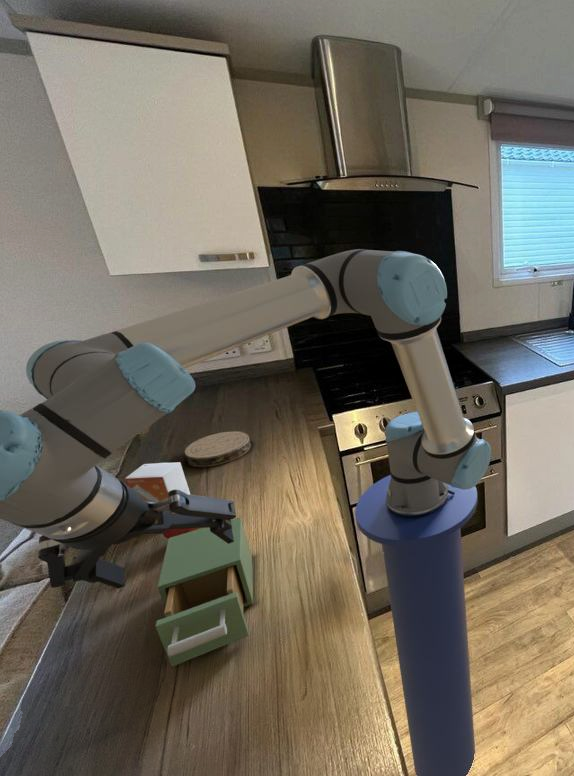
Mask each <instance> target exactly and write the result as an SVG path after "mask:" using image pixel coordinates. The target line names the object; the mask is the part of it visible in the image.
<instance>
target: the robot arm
mask: <svg viewBox="0 0 574 776" xmlns="http://www.w3.org/2000/svg"><path fill="white" fill-rule="evenodd" d="M445 280H446V279H445V277H444V275H443V273H442V271H441V270H440V268H439V267H438V266H437V264H436V263H434V262H433V261H432V260H431V259H429V258H427V257H426V256H424V255H421V254H417V253H413V252H409V251H404V250H396V251H390V250H389V251H388V250H374V249H368V248H367V249H366V248H365V249H364V248H361V249H360V248H357V249H351V250H346V251H341V252H338V253H335V254H332V255H328V256H325V257H321V258H320V259H319V258H318V259H316V260H314V261H311V262H308V263H305V264H301V265H298V266H295V267H294V268H293V269H292V271H291V274H290V275H288V276H287V275H286V276H284V277H281V278H277V279H275V280H272V281H269V282H265V283H262V284H259V285H255V286H252V287H249V288H247V289H244V290H240V291H237V292H234V293H230V294H228V295H223V296H221V297H217V298H214V299H212V300H209V301H205V302H202V303H199V304H196V305H193V306H190V307H186V308H183V309H180V310H178V311H177V310H176V311H174V312H171V313H168V314H164V315H161V316H158V317H155V318H152V319H148V320H146V321H142V322H139V323H136V324H133V325H130V326H127V327H123V328H120V329H117V330H114V331H111V332H107V333H104V334H100V335H97V336H94V337H91V338H88V339H84V340H81V339H78V340H77V339H68V340H67V339H62V340H55V341H52V342H49V343H47V344H44V345H42V346H41V347H39V348H37V349H36V350H35V351H34V352H32V354H31V355H30V356H29V358H28V360H27V362H26V366H25V374H26V377H27V380H28V381H29V383H30V384H31V385H32V387H33V389H34V390H35V391H36V392H37V393H38V394H39V395H41V396H43V397H44V398H45V399H46V400H44V401H43V402H40V403H38V404H36V405H35V406H33V407H32V408H29V409H28V410H26V411H24V412H23V413H21V414H17V413H15V412H13V411H9V410H4V409H0V520H3V521H4V522H7V523H9V524H12V525H15V526H17V527H20V528H22V529H26V530H28V531H30V532H33V533H35V534H38V535H40V536H39V538H38V553H37V559H39V560H40V561H42V562H44V563H46V564H47V571H48V576H49V585H50V587H51V588H54V589H55V588H59V587H62V586H64V585H66V582H67V581H70V580H72V581H73V582H80V581H84V582H87V583H91V584H96V583H100V584H103V585H106V586H109V587H113V588H115V589H122V588H124V587H126V572H125V571H126V570H125V567H123V566H120V565H118V564H117V563H113V562H111V561H108V560H105V559H102V558H101V557H103V556H105V554H107V551H108V550H109V548H111V547H112V546H113V545H120V544H123V543H126V542H127V541H130V540H132V539H134V538H135V539H136V538H138V537H142V536H144V535H157V534H161V535H162V534H163V533H164V532H165V531H166V530H170V529H189V528H208V527H210V532H212V533H213V534H215V535H216V536H218V537H219V538H221V539H222V540H224V541H225V542H226V543H228V544H230V543H232V542H234V538H233V533H232V524H231V520H233V519H236V518H237V513H236V508H235V502H234V500H230V499H224V498H223V499H222V498H216V497H210V496H202V495H196V494H191V493H190V494H191V495H190V494H186V493H184V492H182V491H180V490H171V491H169V492H168V498H167V499H164V500H162V501H159V502H157V503H156V502H152V501H145V500H144V499H143V498H142V497H141V496H140V495H139V494H138V493H137V492H136V491H135V490H133V489H132V488H130V487H129V486H127V483H124V482H123V481H121V480H119V479H118V478H117V477H115V476H114V475H112V474H111V473H110V472H109V471H106V470H105V469H103V468H101V467H100V466H99V465H98V464H100V463H101V462H102V461H104V460H105V459H107V458H108V457H110V456H111V455H113V453H114V452H116V451H117V450H119V449H120V448H121V447H123V446H124V445H125V444H126V443H128V442H129V441H131V440H132V439H134V438H135V437H137V435H139V434H140V433H143V431H145V430H146V429H147V428H149V427H150V426H152V425H153V424H155V423H156V422H157V421H159V420H160V419H162V418H163V417H164V416H166V415H167V414H169V413H172V412H173V411H174V410H175V409H176V407H177V406H178V405H180V404H181V403H182V402H183V401H184V400H186V399H187V398H188V397H189V396H190V395H191V394H193V393H194V391H195V389H196V381H195V380H194V378H193V376H192V375H191V373H189V372H188V371H187V368H190V367H191V366H194V365H197V364H199V363H202V362H204V361H208V360H209V359H211V358H214V357H217V356H219V355H222V354H224V353H226V352H229V351H231V350H234V349H236V348H240V347H242V346H244V345H246V344H250V343H252V342H254V341H257V340H260V339H261V338H264V337H266V336H269V335H271V334H274V333H276V332H279V331H281V330H284V329H286V328H288V327H291V326H293V325H296V324H298V323H301V322H303V321H307V320H308V319H310V318H315V319H317V320H324V319H327V318H329V317H331V316H334V315H338V314H360V315H365V316H370V317H371V320H372V322H373V324H374V328H375V329H376V332H377V334H378V337H379V338H380V339H381V340H383V341H387V342H389V343H391V346H392V349H393V352H394V354H395V357H396V359H397V362H398V365H399V367H400V370H401V373H402V375H403V378H404V380H405V381H404V382H405V384H406V386H407V388H408V391H409V394H410V396H411V399H412V402H413V405H414V407H415V409H416V411H413V412H408V413H404V414H401V415H399V416H396V417H394V418H393V419H391V420H390V421H388V423H387V424H386V426H385V440H384V441H385V443H386V449H387V457H388V463H389V471H390V475H391V480H390V484H389V487H387V491H388V492H387V496H386V502H387V508H388V510H389V511H390V512H391V513H392V514H394V515H396V516H398V517H402V518H419V517H424V516H427V515H430V514H432V513H434V512H436V511H438V510H439V509H441V508H442V507H443V506H444V505H445V503H446V502H447V500H448V493H450V494H452V495H454V493H455V492H452V491H450V490H448V486H447V484H448V485H451V486H452V487H454V488H459V489H463V490H466V489H470V488H473V487H474V486H475V487H476V485H478V484H479V483H480V482H481V480H482V479H483V477H484V476H485V475H486V472H487V470H488V468H489V465H490V461H491V457H492V448H491V445H490V443H489V442H487V441H486V440H485V439H483V438H478V437H477V434H476V430H475V428H474V425H473V423H472V422H471V421H470V420H469V419H468V418H466V417H464V415H463V412H462V409H461V406H460V403H459V399H458V396H457V395H458V394H457V393H456V389H455V385H454V382H453V378H452V376H451V373H450V370H449V369H450V368H449V365H448V363H447V359H446V356H445V353H444V350H443V346H442V343H441V339H440V336H439V334H438V331H437V329H438V327H439V325H440V324H441V322H442V315H443V313H444V311H445V308H446V305H447V303H446V302H445V300H446V299H448V289H447V283H446V281H445ZM156 520H157V523H158V524H154V523H155V522H156ZM69 547H70V548H72V549H74V550H75V549H76V550H79V553H77V555H76V556H73V559H72V564H70V565H67V566H66V558H65V552H66V551H67V550H69Z"/></svg>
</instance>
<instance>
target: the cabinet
mask: <svg viewBox="0 0 574 776" xmlns="http://www.w3.org/2000/svg"><path fill="white" fill-rule="evenodd" d="M231 524H232V533H233V538H234V542H232V543H230V544H228V543H226V542H225V541H224V540H222V539H221V538H219V537H218V536H216V535H215V534H213V533H212V532H210V527H208V528H202V529H198V530H195V531H191V532H188V533H184V534H181V535H178V536H174V537H171V538H169V539H167V544H166V549H165V551H164V558H163V561H162V566H161V570H160V574H159V578H158V583H157V590H158V592H159V595H160V598H161V600H162V603H163V605H164V608H165V607H166V602H167V597H168V592H169V587H171V586H174V585H177V584H180V583H183V582H186V581H189V580H192V579H194V578H197V577H200V576H203V575H206V574H209V573H212V572H215V571H218V570H221V569H224V568H227V567H230V566H233V565H236V566H237V569H238V573H239V576H240V580H241V583H242V586H243V590H244V595H243V608H246V607H249V606H251V605H253V604H254V579H253V577H254V576H253V575H254V573H253V570H254V569H253V556H252V552H251V551H252V550H251V548H250V543H249V540H248V537H247V534H246V530H245V527H244V522H243V519H242V517H241V516H240V517H235V518H234V519H231Z"/></svg>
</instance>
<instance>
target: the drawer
mask: <svg viewBox="0 0 574 776" xmlns="http://www.w3.org/2000/svg"><path fill="white" fill-rule="evenodd" d="M243 595H244V590H243V586H242V583H241V580H240V576H239V573H238V569H237V566H236V565H233V566H230V567H227V568H224V569H221V570H218V571H215V572H212V573H209V574H206V575H203V576H200V577H197V578H194V579H192V580H189V581H186V582H183V583H180V584H177V585H174V586H171V587H169V592H168V597H167V602H166V607H165V606H164V611H163V615H164V616H165V617H163V618H161V619H158V620H156V623H155V629H156V631H157V633H158V636H159V639H160V641H161V644H162V646H163V648H164V652H165V653H166V656H167V658H168V661H169V663H170V666H171V667H175V666H177V665H180V664H182V663H184V662H186V661H189V660H192V659H195V658H196V657H199V656H202V655H204V654H206V653H209V652H212V651H214V650H216V649H219V648H221V647H223V646H226V645H228V644H231V643H234V642H236V641H238V640H241V639H243V638H246V637H248V636H249V628H248V624H247V620H246V618H245V614H244V607H243Z"/></svg>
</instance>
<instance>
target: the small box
mask: <svg viewBox="0 0 574 776" xmlns="http://www.w3.org/2000/svg"><path fill="white" fill-rule="evenodd" d="M124 481H125V482H126V483H125V484H126V485H127V486H129V487H130V488H132V489H133V490H135V491H136V492H137V493H138V494H139V495H140V496H141V497H142V498H143V499H144V500H145V501H152V502H156V503H157V502H159V501H162V500H164V499H167V498H168V492H169V491H171V490H180V491H182V492H184V493H186V494H190V495H192V494H191V491H190V488H189V486H188V482H187V479H186V476H185V473H184V470H183V466H182V463H181V462H180V461H179V462H156V463H144V464H141V465H140V466H139V467H138V468H136V469H135V470H134V471H132V472H131V473H130V474H128V475H127V476H126V477H125V478H124ZM154 525H158V523H157V520H156V522H155V523H154Z"/></svg>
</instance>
